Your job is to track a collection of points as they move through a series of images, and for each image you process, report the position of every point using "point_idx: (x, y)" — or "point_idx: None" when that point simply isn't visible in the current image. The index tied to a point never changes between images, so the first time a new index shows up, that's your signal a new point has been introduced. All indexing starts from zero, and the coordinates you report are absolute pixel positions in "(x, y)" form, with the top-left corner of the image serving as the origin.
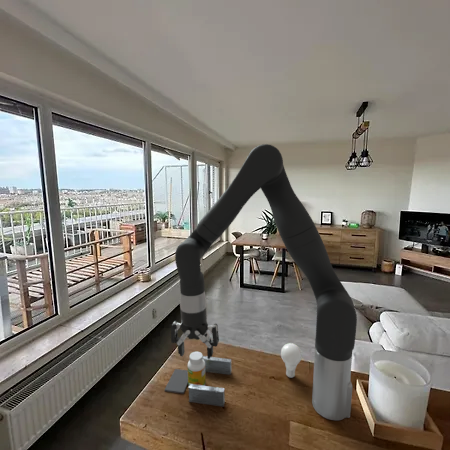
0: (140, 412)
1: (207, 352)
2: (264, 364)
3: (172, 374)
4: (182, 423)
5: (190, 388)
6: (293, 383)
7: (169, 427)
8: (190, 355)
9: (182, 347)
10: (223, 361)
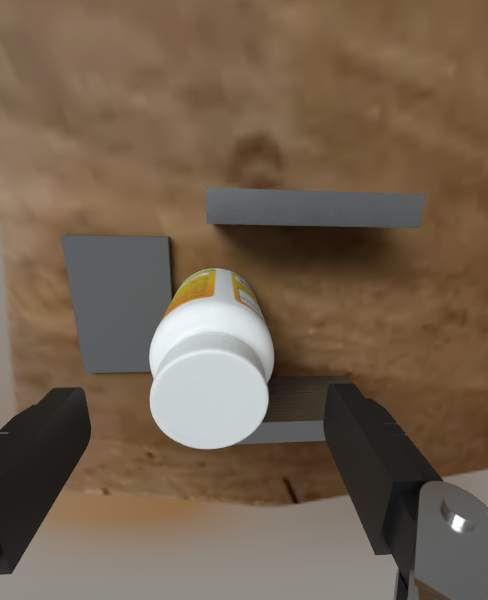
0: None
1: (350, 490)
2: None
3: (69, 280)
4: (218, 467)
5: None
6: None
7: (183, 484)
8: (158, 411)
9: (34, 505)
10: (371, 226)
